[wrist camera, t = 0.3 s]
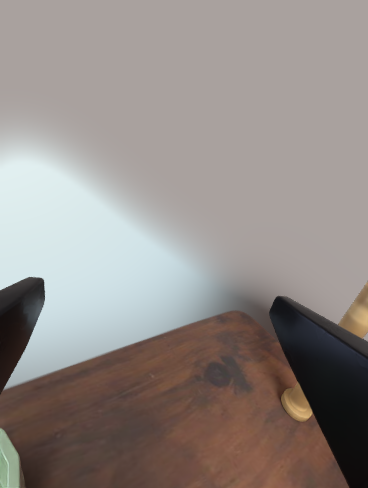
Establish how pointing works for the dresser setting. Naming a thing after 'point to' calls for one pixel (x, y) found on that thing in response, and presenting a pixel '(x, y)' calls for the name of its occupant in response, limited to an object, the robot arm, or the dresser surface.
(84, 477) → the dresser surface
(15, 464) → the bowl
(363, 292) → the stirring stick
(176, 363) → the dresser surface
